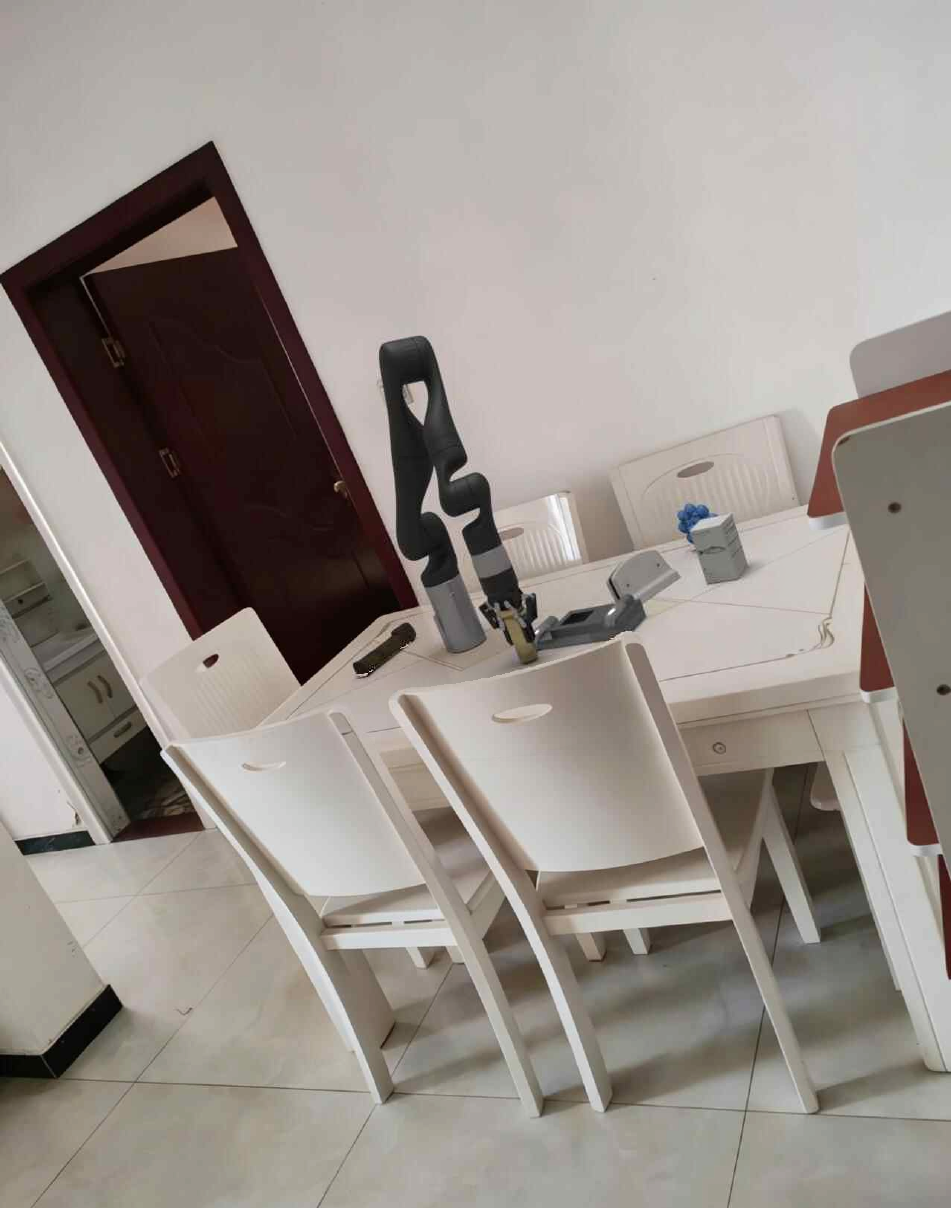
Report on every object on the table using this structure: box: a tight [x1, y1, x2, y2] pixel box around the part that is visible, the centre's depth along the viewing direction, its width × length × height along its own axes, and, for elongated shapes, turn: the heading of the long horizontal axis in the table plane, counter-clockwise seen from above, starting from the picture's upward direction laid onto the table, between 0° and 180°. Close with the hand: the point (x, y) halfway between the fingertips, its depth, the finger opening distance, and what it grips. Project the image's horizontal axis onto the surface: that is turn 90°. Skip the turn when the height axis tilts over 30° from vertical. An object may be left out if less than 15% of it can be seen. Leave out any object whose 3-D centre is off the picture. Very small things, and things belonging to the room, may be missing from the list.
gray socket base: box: [533, 594, 647, 651], centre depth 202 cm, size 26×11×6 cm, turn 57°
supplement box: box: [690, 513, 749, 585], centre depth 201 cm, size 7×7×13 cm
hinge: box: [605, 549, 682, 605], centre depth 212 cm, size 17×5×10 cm, turn 128°
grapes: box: [676, 502, 719, 545], centre depth 224 cm, size 12×7×12 cm, turn 48°
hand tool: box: [352, 622, 417, 675], centre depth 243 cm, size 23×5×6 cm, turn 142°
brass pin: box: [498, 605, 539, 664], centre depth 198 cm, size 5×5×12 cm
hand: (522, 642), depth 199 cm, fingers closed on brass pin, 4 cm apart
